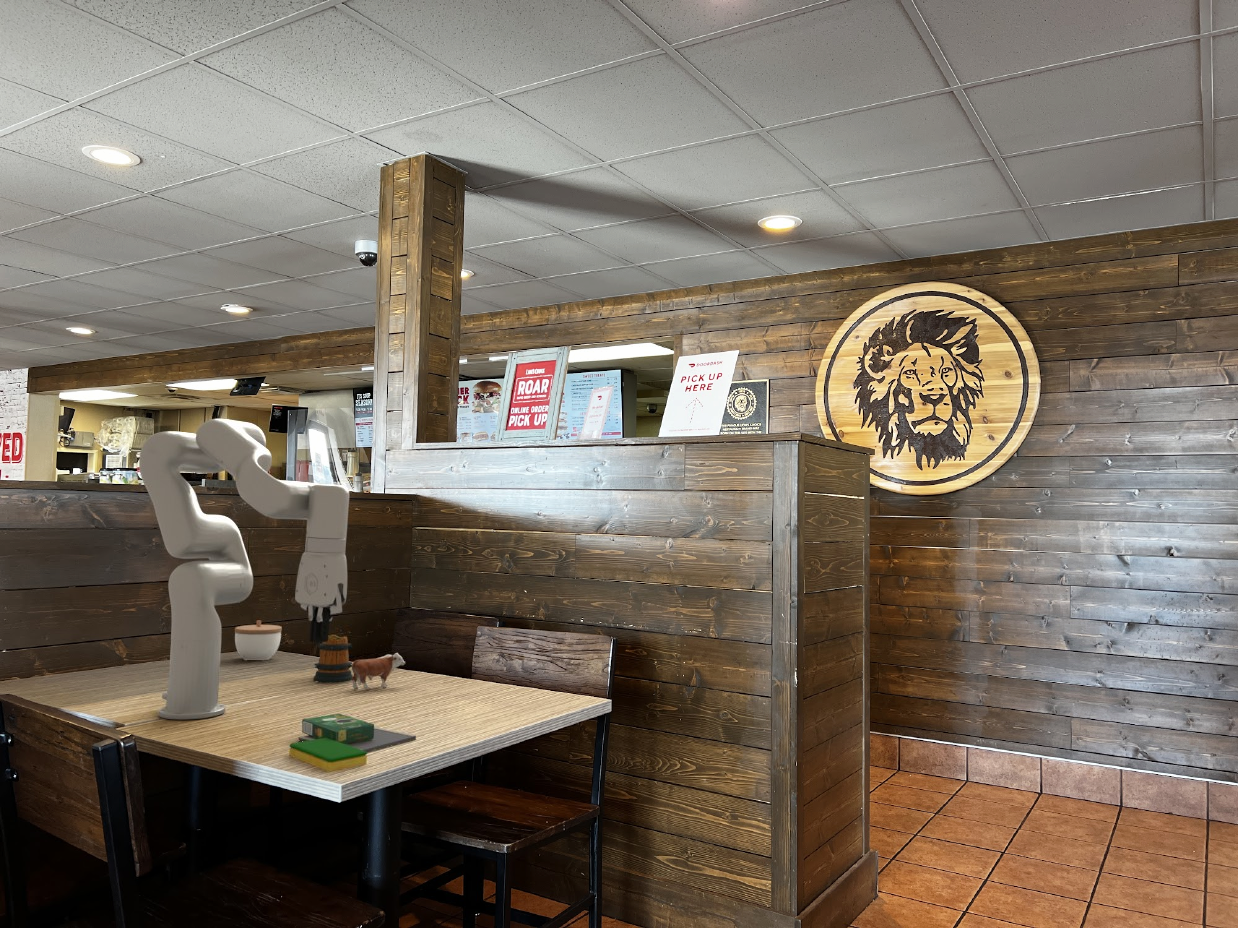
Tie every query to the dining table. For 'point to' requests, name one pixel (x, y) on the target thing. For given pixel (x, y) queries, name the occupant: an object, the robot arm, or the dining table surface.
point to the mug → (334, 661)
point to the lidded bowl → (257, 641)
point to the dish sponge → (328, 754)
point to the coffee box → (338, 728)
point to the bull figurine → (375, 669)
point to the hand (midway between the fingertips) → (318, 641)
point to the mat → (375, 739)
